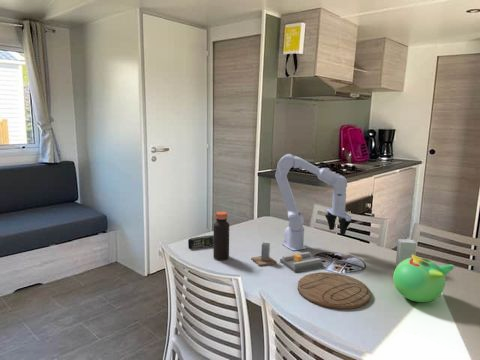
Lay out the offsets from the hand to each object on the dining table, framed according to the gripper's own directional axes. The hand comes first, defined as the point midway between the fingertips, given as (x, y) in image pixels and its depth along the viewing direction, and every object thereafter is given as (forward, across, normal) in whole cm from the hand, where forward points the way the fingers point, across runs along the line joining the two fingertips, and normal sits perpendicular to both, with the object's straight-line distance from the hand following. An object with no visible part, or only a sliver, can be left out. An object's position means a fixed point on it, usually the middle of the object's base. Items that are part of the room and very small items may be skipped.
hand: (337, 232), depth 167 cm
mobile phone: (+10, +30, +53) cm, 62 cm away
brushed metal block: (+9, +3, +36) cm, 37 cm away
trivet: (+10, -30, +26) cm, 41 cm away
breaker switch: (+8, -6, +25) cm, 27 cm away
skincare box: (+10, -26, -14) cm, 31 cm away
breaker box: (+9, -6, +23) cm, 26 cm away
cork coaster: (+9, +3, +36) cm, 37 cm away
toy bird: (+10, -46, +2) cm, 47 cm away
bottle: (+10, +14, +51) cm, 54 cm away
